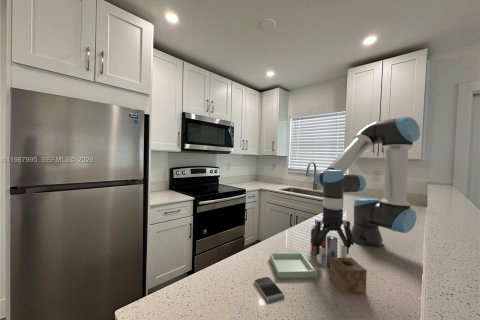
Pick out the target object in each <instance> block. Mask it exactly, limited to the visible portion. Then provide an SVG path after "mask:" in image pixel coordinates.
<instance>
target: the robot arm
mask: <svg viewBox="0 0 480 320" xmlns="http://www.w3.org/2000/svg"><path fill="white" fill-rule="evenodd" d="M420 136H421V130H420V126H419V124H418V122H417V121H416V120H415V119H414V118H413V117H411V116H406V117H405V116H404V117H396V118H391V119H386V120H385V119H384V120H379V121H374V122H372V123H370V124H369V125H367V126H365V127H364V128H362V129H361V130H360V131H359V132H358V133H356V135H354V137H353V141H352V142H351V143H350V144H349V145H348V146H347V147H346V148H345V149H344V150H343V151H342V152H341V153H340V154H339V156H337V157H336V158H335V160H334V161H333V162H331V164H330V165H329V166H328V167H327V168H326V169H325V170H324V171H317V172H316V174H315V175H314V183H315V185H317V186H319V187H322V192H323V193H322V195H323V196H322V219H321V220H320V219H319V220H318V219H315V220H314V226H315V228H314V231H313V235H312V238H311V237H310V244H311V243H312V244H313V245H314V246H315V253H316V254H317V255H316V254H315V255H316V260H317V262H318V263H319V264H323V262H322V260H323V255H322V247H321V244H322V242H323V240H324V238H325V237H326V238H327V236H328V234H329V233H330V232H333V231H334V232H336V233H337V234H338V236H339V238H340V239H341V241H342V244H341V245H340V249H341V250H340V258H348V255H349V251H350V249H349V248H351V247H352V246H353V245H354V244H355V243H357V244H360V245H363V246H369V247H380V246H383V238H382V234H381V231H380V227H381V228H383V229H387V230H389V231H390V230H391V231H392V232H396V233H401V234H406V233H407V234H408V233H409V232H410V231H412V229H414V227H415V225H416V223H417V217H418V216H417V213H416V211H415V210H414V209H412V208H411V203H410V202H409V201H407V194H408V193H407V191H408V188H407V187H408V167H409V164H408V163H409V150H410V149H411V148H412V147H413V146H414V143H415V142H417V141H418V140H419V138H420ZM377 144H381V147H382V148H383V149H384V150H385V156H384V157H385V158H384V176H383V177H384V178H383V180H384V181H383V182H384V183H383V197H382V198H381V199H378V198H368V197H362V198H355V199H354V203H353V224H352V228H351V222H350V221H349V220H348V219H344V220H343V218H344V209H343V208H344V193H357V192H361V191H364V190H365V189H366V186H367V181H366V179H365V177H364V176H362V175H361V174H358V173H357V174H356V173H351V174H349V173H346V172H347V171H348V170H350V168H351V167H352V166H353V165H354V163H356V161H357V160H358V159H359V158H360V157H361V156H362V155H363V154H364V153H365V151H366V150H369V149H371V148H372V147H373V146H375V145H377ZM321 226H322V231H321V232H320V228H321ZM342 226H343V229H342ZM343 230H344V231H343ZM319 232H320V234H319ZM344 233H345V234H344Z"/></svg>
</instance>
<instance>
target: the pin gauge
mask: <svg viewBox="0 0 480 320" xmlns="http://www.w3.org/2000/svg"><path fill="white" fill-rule="evenodd" d="M325 256H326V260H325V266H326V268H327V269H329V270H330V258H338V237H337V236H333V235H326V255H325Z"/></svg>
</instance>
